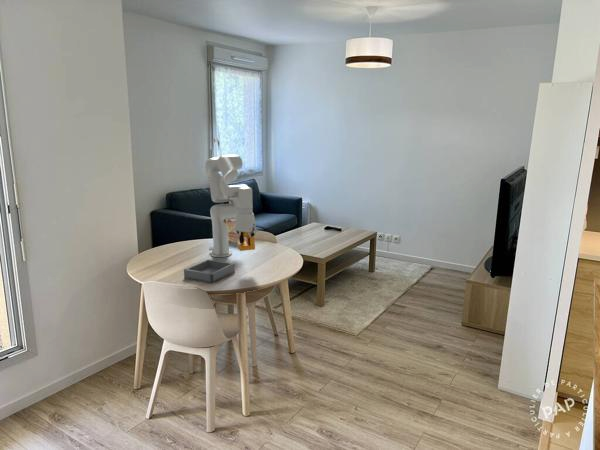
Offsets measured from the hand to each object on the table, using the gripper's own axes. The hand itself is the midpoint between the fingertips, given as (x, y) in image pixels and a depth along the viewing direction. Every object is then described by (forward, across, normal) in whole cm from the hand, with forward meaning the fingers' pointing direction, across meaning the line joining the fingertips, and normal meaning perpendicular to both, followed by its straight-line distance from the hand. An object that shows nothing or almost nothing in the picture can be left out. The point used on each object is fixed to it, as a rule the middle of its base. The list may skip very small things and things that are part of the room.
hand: (246, 243), depth 238 cm
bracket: (+3, 0, 0) cm, 3 cm away
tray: (+17, -15, -12) cm, 26 cm away
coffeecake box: (+18, -43, +55) cm, 72 cm away
